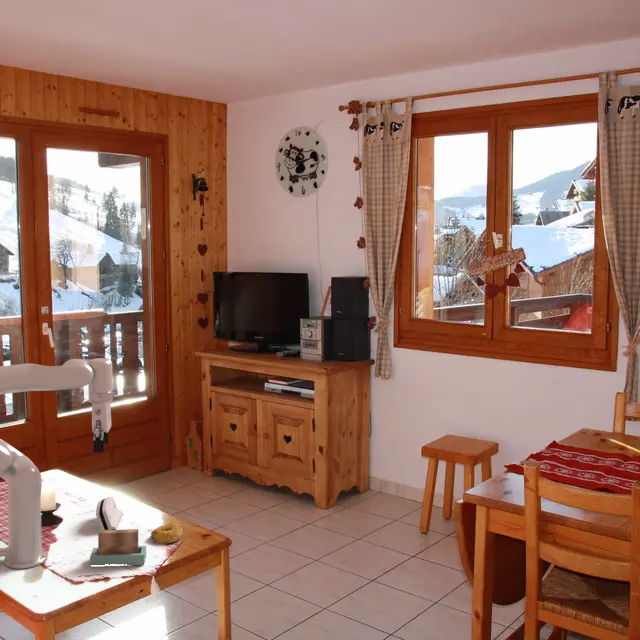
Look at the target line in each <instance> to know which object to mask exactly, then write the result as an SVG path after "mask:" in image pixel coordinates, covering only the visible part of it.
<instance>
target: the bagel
mask: <svg viewBox="0 0 640 640" xmlns="http://www.w3.org/2000/svg"><path fill="white" fill-rule="evenodd" d="M150 536H151V538H153V540H154V542H155V541H156V543H157V542H158V543H157V544H159V543H169V544H171V543H176V542H177V541H180V539H181V538H182V537H183V528H182V526H181V525H180V523H175V522H171V523H169V524H166V525H159V526H158V527H156V528H155V529H153V530H152V531H150Z"/></svg>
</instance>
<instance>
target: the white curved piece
mask: <svg viewBox="0 0 640 640" xmlns="http://www.w3.org/2000/svg"><path fill="white" fill-rule="evenodd" d="M95 516H96V519H97V522H98V525H99V527H100V531H101V530H117V528H118V525H119V523H120V521H121V522H122V520H121V518H122V516H123V517H124V512H123V511H122V510H121V509H119V508H118V506H117V503H116V502H115V499H114V497H113V496H108V497H106V498H102V499H101V500H99V501H98V503H97V506H96V509H95ZM122 519H123V518H122ZM120 524H121V523H120ZM118 529H119V528H118Z"/></svg>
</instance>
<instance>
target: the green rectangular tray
mask: <svg viewBox="0 0 640 640" xmlns="http://www.w3.org/2000/svg"><path fill="white" fill-rule="evenodd" d="M145 559H147V545H138V553H137V554H110V555H98V547H93V548H92V551H91V553H90V555H89V566H90V565H105V564H109V565H110V564H124V565H125V564H127V565H144V566H145V564H144V563H146V560H145Z"/></svg>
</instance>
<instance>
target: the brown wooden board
mask: <svg viewBox="0 0 640 640" xmlns="http://www.w3.org/2000/svg"><path fill="white" fill-rule="evenodd" d="M97 534H98V535H97V539H98V540H97V543H98V544H97V545H98V546H97V548H98V555H110V554H137V553H138V546H139V528H138V529H137V528H134V529H128V528H127V529H118V530H114V529H112V530H101V529H100V530H99V531H98V533H97Z"/></svg>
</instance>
